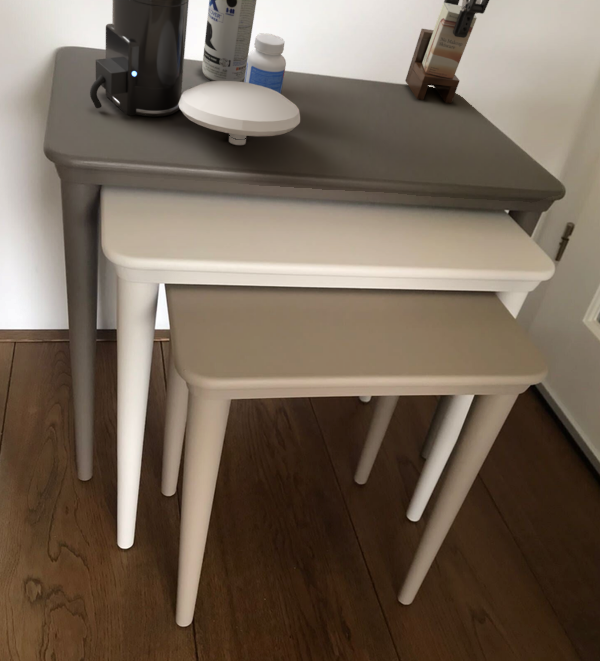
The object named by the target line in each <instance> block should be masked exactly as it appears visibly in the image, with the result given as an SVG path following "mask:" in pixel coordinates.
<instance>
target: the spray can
mask: <svg viewBox="0 0 600 661" xmlns="http://www.w3.org/2000/svg"><path fill="white" fill-rule="evenodd" d="M256 6H257V0H209V1H208V9H207V17H206V18H207V19H206V29H205V38H204V46H203V56H202V64H201V65H202V66H201V68H202V69H201V70H202V74H203V75H204V76H205V78H207V79H208V80H209V81H210V82H211V81H237V82H244V80H245V73H246V66H247V59H248V55H249V53H250V45H251V40H252V32H253V26H254V20H255V13H256Z"/></svg>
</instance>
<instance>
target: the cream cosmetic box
mask: <svg viewBox="0 0 600 661" xmlns="http://www.w3.org/2000/svg"><path fill="white" fill-rule="evenodd" d="M461 8H462V5H459V4H458V5H454V4H449V3H445V2H444V1H443V3H442V6H441V9H440V11H439V14H438V17H437V20H436V23H435V25H434V27H433V30H434V31H433V34H432V36H431V39H430V42H429V45H428V48H427V51H426V53H425V56H424V59H423V62H422V64H423V67H424V70H425V72H426V73H428V74H433V75H437V76H442V77H446V78H451V79H453V78H454V75H456V73H457V70H458V67H459V64H460V63H461V59H462V57H463V55H464V52H465V50H466V47H467V44H468V41H469V40H470V37H471V34H472V31H473V29H474V27H475V24H476V21H477V19H478V17H477V15H476V14H475V15H474V18H473V20H472V23H471V26H470V29H469V31H468V34H467V36H466V37H465V38H462V37H456V36H455V35H454V34H453V30H454V27H455V24H456V21H457V18H458V16H459V13H460V10H461Z"/></svg>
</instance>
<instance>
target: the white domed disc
mask: <svg viewBox="0 0 600 661" xmlns="http://www.w3.org/2000/svg"><path fill="white" fill-rule="evenodd" d="M178 104H179V108H180V109H179V110H180V112H182V114H183V115H184V117H185V118H187V119H188V120H189V121H191V122H192V123H195V125H196V124H197V125H198V126H200V127H204V128H206V129H209V130H212V131H217V132H221V133H225V134H228V143H230V144H232V145H235V146H244V145H246V143H247V136H249V137H273V136H281V135H284V134H287V133H290V132H291V131H293V130H294V129H295V128H296V127H298V126H299V124H300V123H301V114H300V109H299V107H298V106H297V105H296V104H295V103H294V102H292V101H291V100H289V99H288V98H287V97H286V96H284V95H283V94H282V93H281V94H280V93H278V92H277V91H274V90H272V89H269V88H266V87H263V86H259V85H255V84H251V83H245V82H244V81H242V82H237V81H211V80H210V81H206V82H202V83H200V84H197V85H195V86H193V87H191V88H188V89H185V90H184V91H183V92H182V93H181V98H180V101H179V103H178ZM229 135H230V136H231V137H233V138H236V139H244V138H246V139H245V140H235V139H233V138H231V137H230V136H229Z"/></svg>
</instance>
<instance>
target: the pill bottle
mask: <svg viewBox="0 0 600 661" xmlns="http://www.w3.org/2000/svg"><path fill="white" fill-rule="evenodd" d="M253 46H254V49H253V50H251V51H249V53H248V59H247V66H246V73H245V77H244V80H243V82H245V83H251V84H255V85H259V86H263V87H266V88H269V89H272V90H274V91H277V92H278V93H280V94H281V95H282V88H283V83H284V78H285V73H286V66H287V62H286V59H285V56H283V53H284V50H285V39H283V38H282V37H280V36H278V35H276V34H272V33H265V32H263V33H258V34H256V35H255V38H254V45H253Z"/></svg>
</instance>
